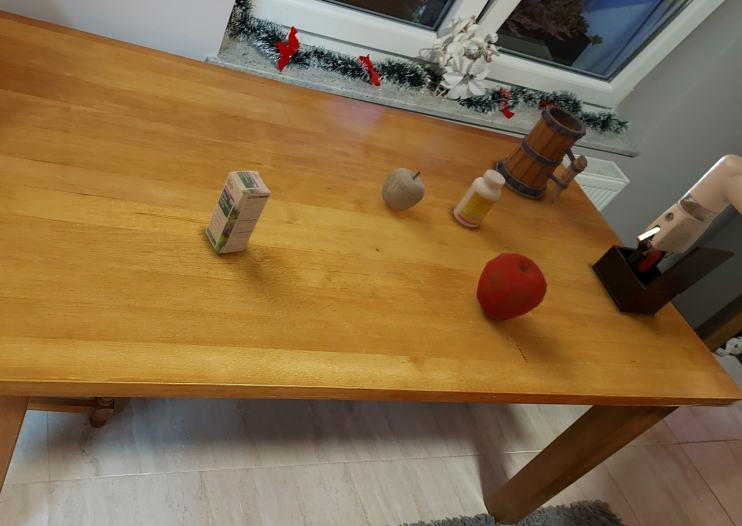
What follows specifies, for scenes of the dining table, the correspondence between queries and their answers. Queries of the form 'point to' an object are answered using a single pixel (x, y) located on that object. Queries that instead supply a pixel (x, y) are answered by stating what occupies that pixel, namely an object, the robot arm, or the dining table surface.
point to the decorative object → (402, 189)
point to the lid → (689, 269)
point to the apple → (510, 286)
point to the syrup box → (237, 211)
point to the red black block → (649, 259)
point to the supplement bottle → (479, 199)
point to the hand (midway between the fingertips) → (639, 264)
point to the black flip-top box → (630, 283)
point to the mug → (545, 155)
